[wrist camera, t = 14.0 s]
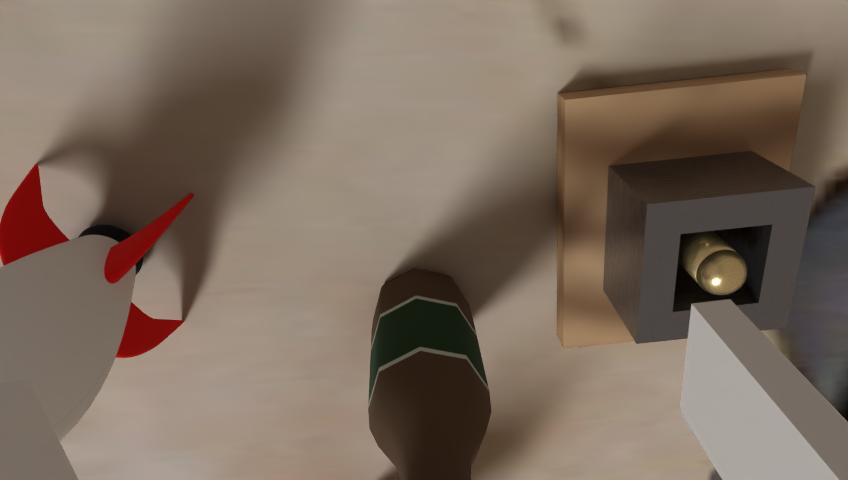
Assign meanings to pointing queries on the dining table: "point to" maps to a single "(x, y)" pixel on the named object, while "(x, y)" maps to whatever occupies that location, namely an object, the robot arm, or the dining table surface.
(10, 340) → the rocket
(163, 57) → the dining table surface
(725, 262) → the post
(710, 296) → the grey square socket block
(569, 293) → the board
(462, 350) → the beer bottle
